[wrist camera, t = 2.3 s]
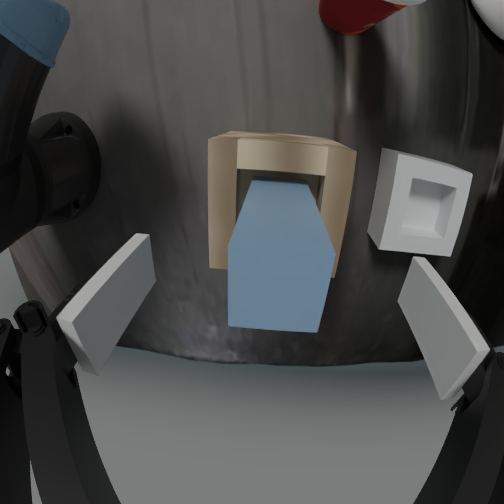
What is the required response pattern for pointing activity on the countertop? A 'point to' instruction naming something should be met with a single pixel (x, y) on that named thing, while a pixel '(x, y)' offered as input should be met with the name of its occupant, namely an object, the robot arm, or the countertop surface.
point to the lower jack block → (417, 204)
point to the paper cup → (358, 13)
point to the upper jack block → (281, 166)
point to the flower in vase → (491, 14)
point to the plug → (279, 258)
